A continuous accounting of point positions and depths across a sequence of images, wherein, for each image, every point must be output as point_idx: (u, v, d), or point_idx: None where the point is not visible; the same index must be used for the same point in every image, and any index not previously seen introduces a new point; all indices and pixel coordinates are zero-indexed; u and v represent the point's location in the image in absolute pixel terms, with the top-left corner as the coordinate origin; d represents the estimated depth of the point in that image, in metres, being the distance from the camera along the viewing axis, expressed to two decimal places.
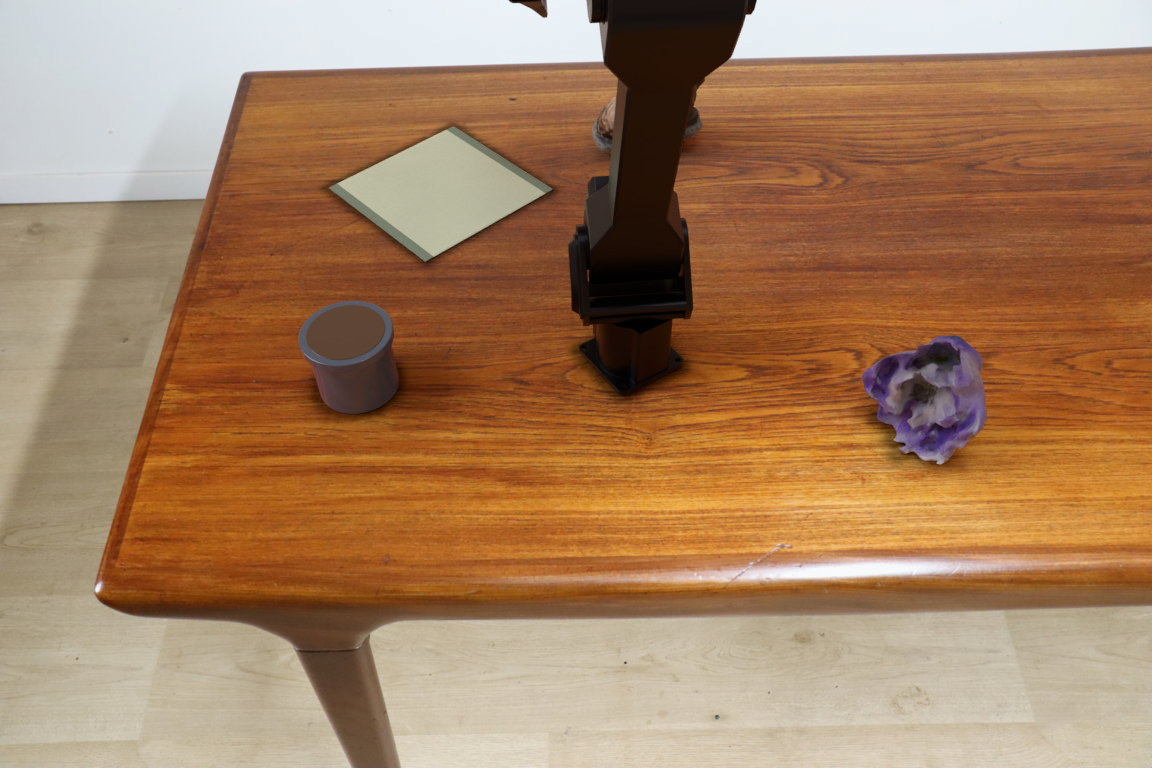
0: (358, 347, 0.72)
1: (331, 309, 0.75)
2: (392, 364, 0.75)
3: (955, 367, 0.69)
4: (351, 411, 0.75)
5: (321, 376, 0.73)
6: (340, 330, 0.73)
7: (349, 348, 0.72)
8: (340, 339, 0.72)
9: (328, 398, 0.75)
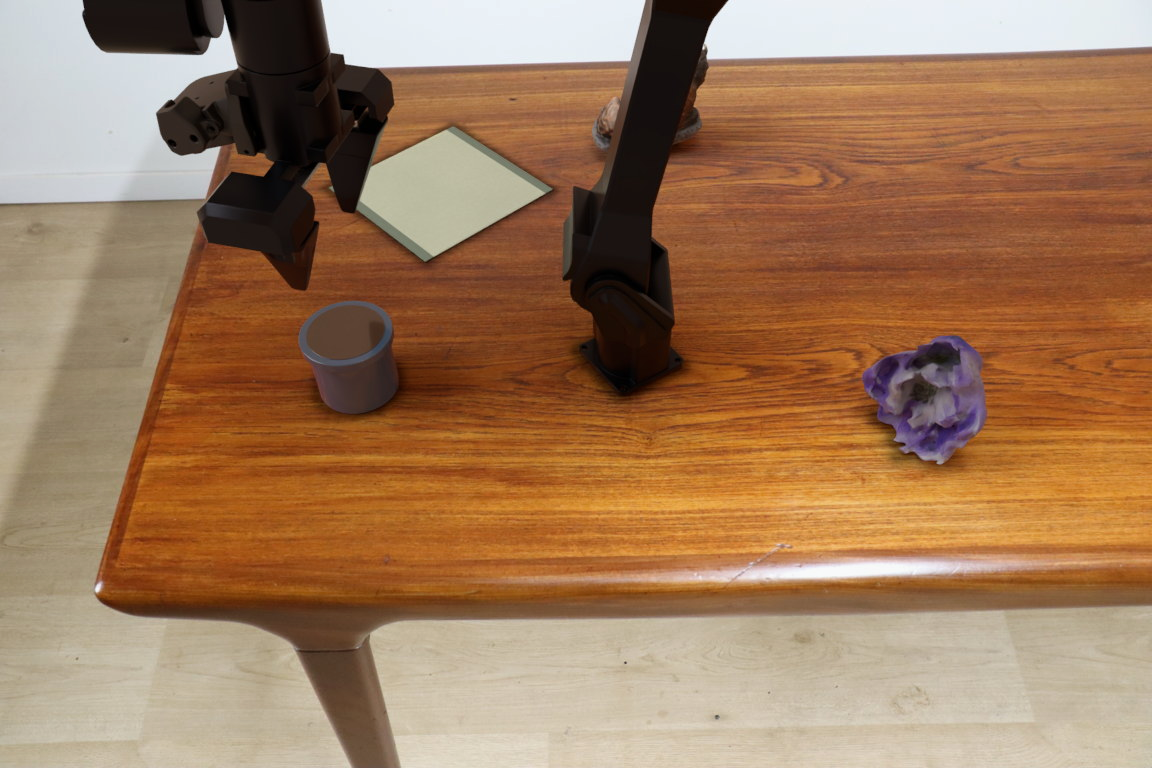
0: (358, 347, 0.72)
1: (331, 309, 0.75)
2: (392, 364, 0.75)
3: (955, 367, 0.69)
4: (351, 411, 0.75)
5: (321, 376, 0.73)
6: (340, 330, 0.73)
7: (349, 348, 0.72)
8: (340, 339, 0.72)
9: (328, 398, 0.75)
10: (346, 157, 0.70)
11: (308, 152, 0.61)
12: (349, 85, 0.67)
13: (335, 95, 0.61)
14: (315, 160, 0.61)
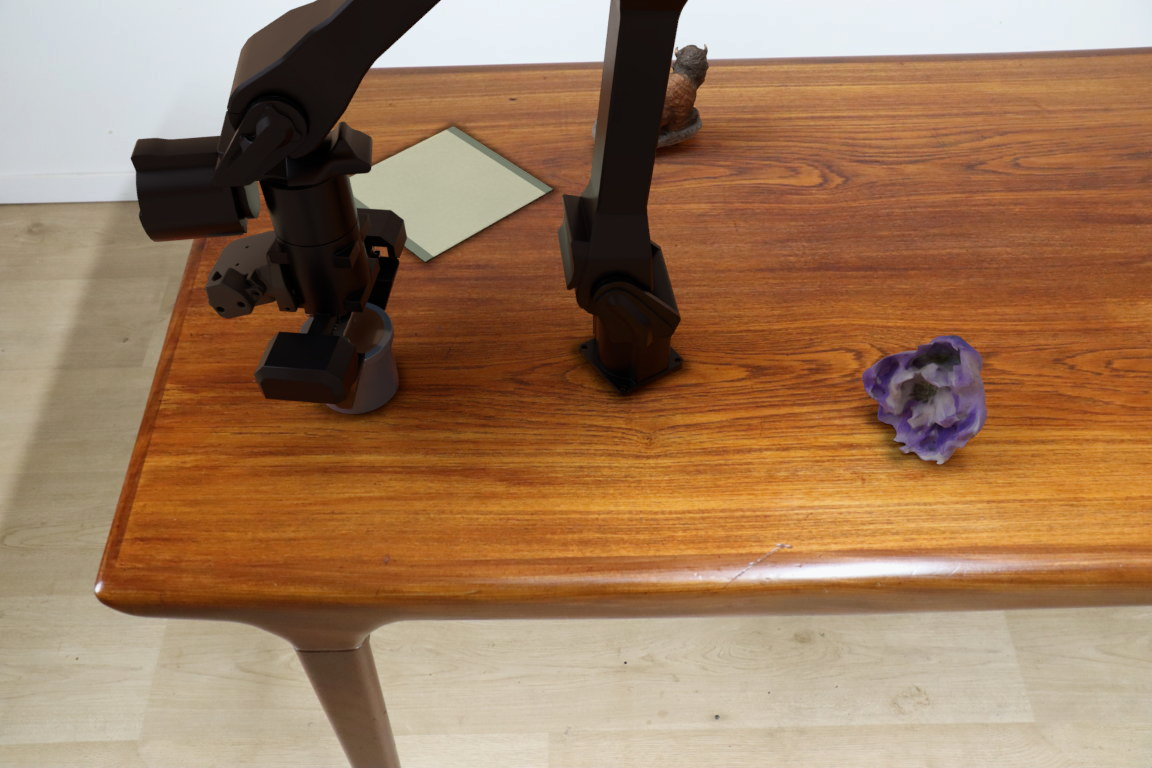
0: (357, 348, 0.72)
1: None
2: (392, 364, 0.75)
3: (955, 367, 0.69)
4: (351, 411, 0.75)
5: None
6: None
7: None
8: None
9: None
10: None
11: (345, 304, 0.67)
12: (368, 230, 0.73)
13: (364, 251, 0.67)
14: (351, 310, 0.68)
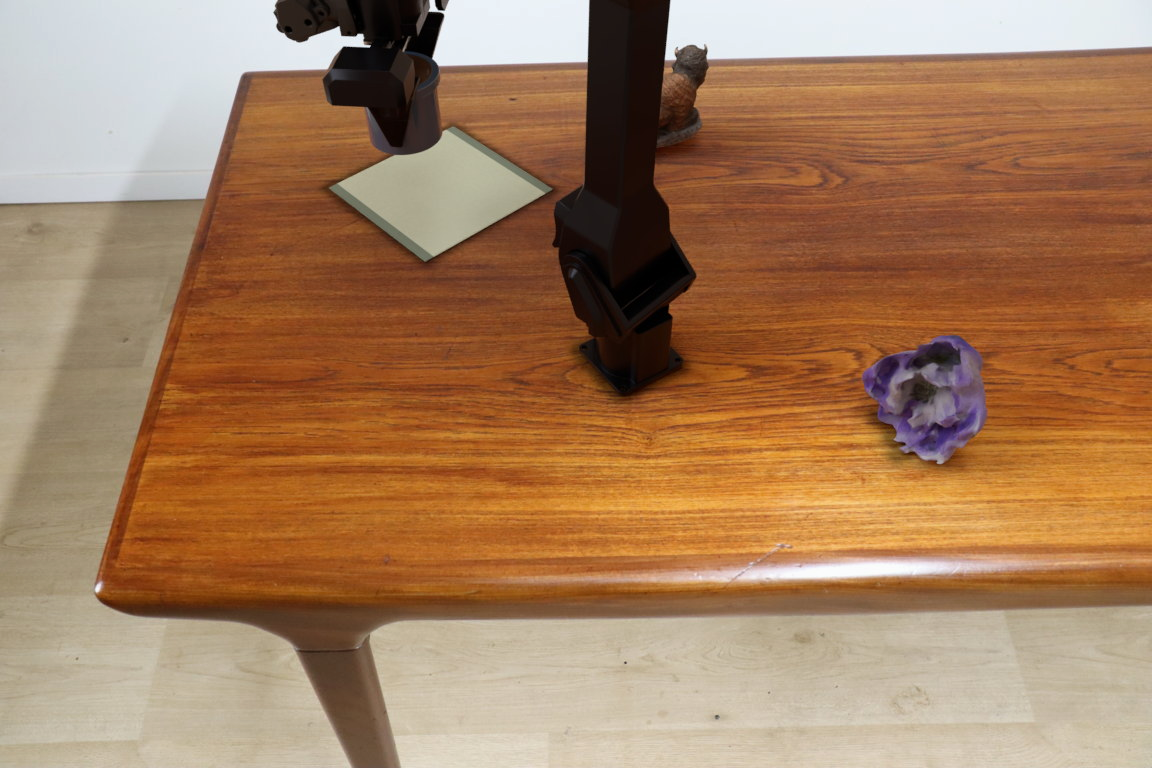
0: None
1: None
2: (438, 109, 0.81)
3: (955, 367, 0.69)
4: (400, 152, 0.81)
5: None
6: None
7: None
8: None
9: (379, 139, 0.81)
10: None
11: (402, 27, 0.74)
12: None
13: None
14: (407, 34, 0.74)
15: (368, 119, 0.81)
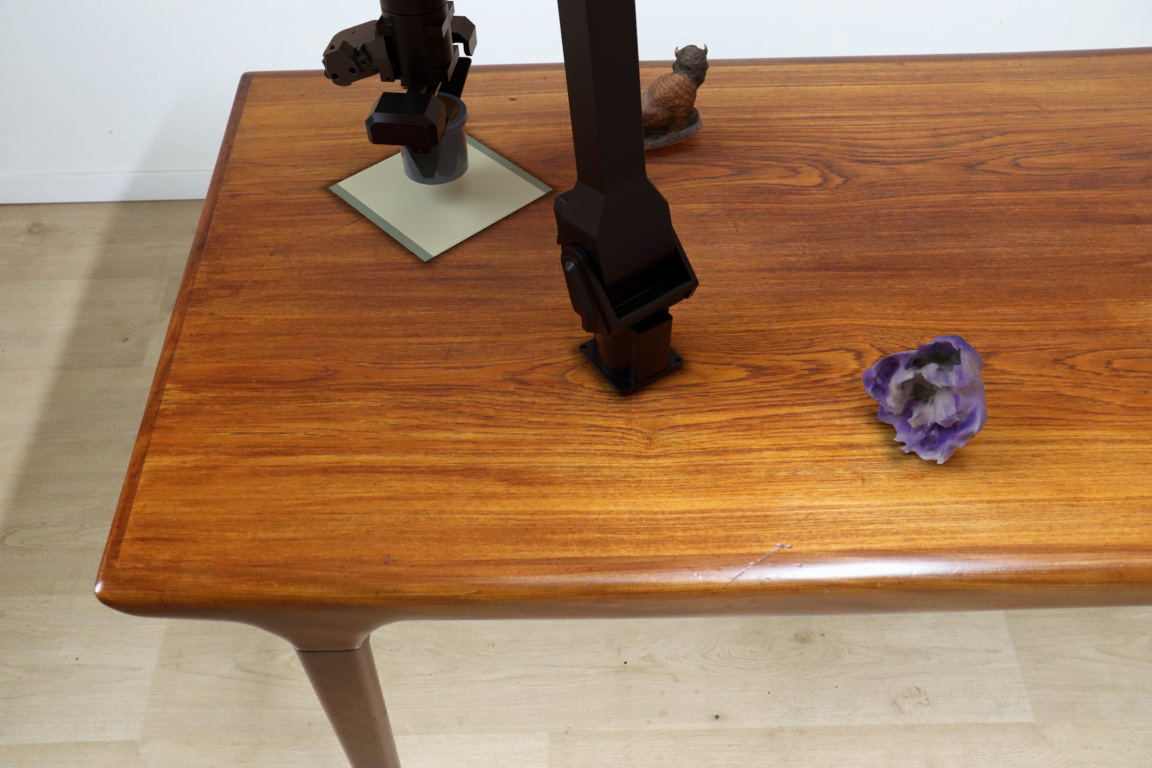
0: None
1: None
2: (465, 143, 0.91)
3: (955, 367, 0.69)
4: (431, 182, 0.91)
5: None
6: None
7: None
8: None
9: (412, 171, 0.91)
10: None
11: (435, 74, 0.83)
12: None
13: (450, 31, 0.83)
14: (439, 80, 0.84)
15: (403, 153, 0.90)
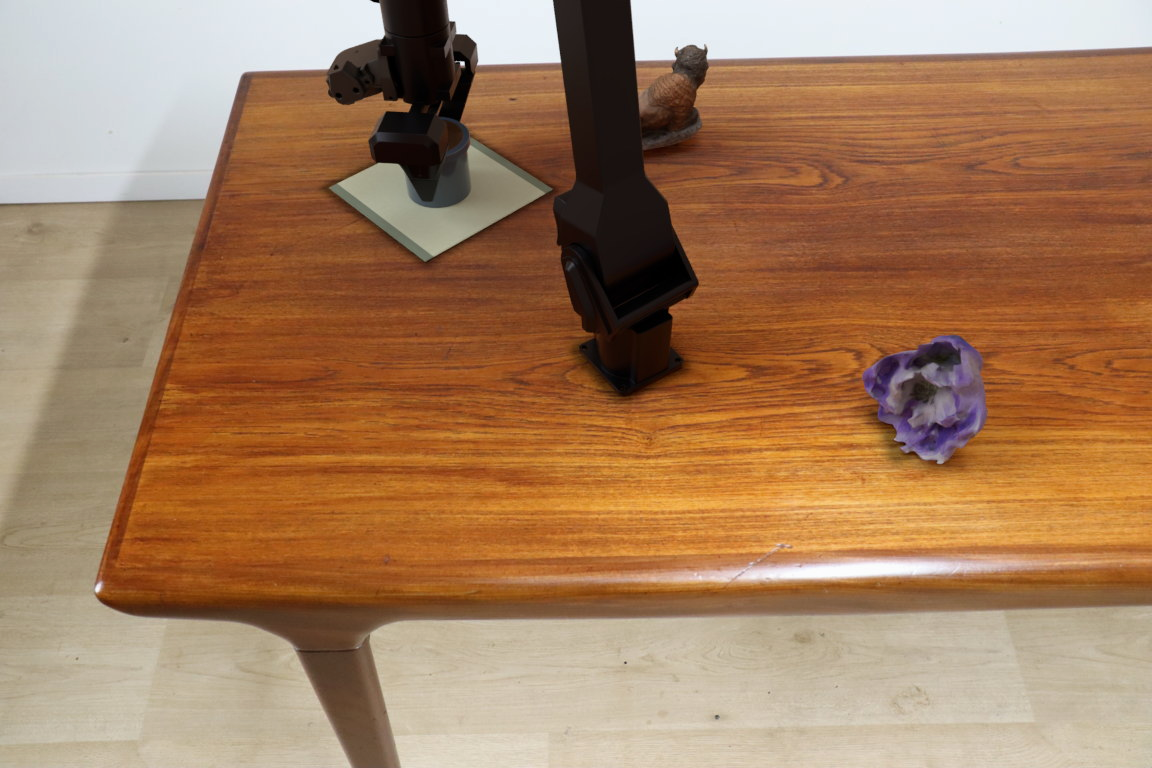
0: None
1: None
2: (468, 167, 0.93)
3: (955, 367, 0.69)
4: (434, 205, 0.93)
5: None
6: None
7: None
8: None
9: (416, 194, 0.93)
10: (447, 103, 0.94)
11: (437, 93, 0.85)
12: None
13: (452, 51, 0.84)
14: (441, 99, 0.85)
15: (407, 177, 0.92)
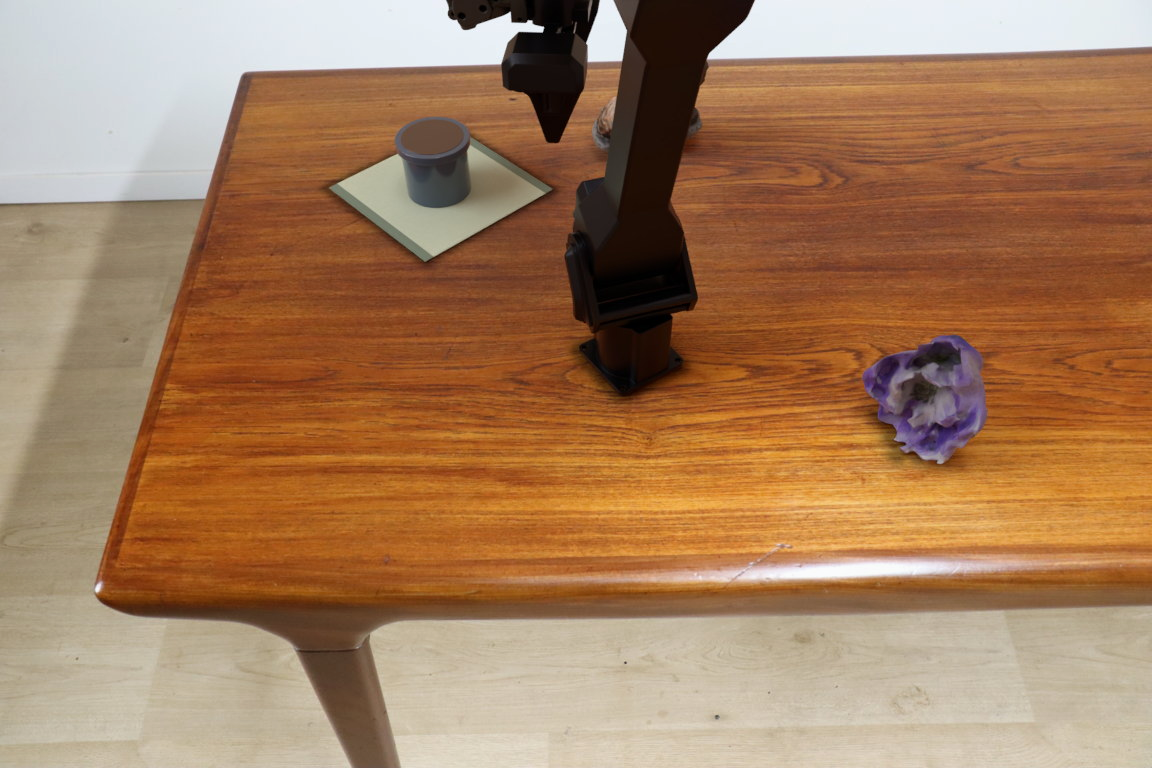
0: (443, 147, 0.90)
1: (419, 122, 0.92)
2: (468, 167, 0.93)
3: (955, 367, 0.69)
4: (434, 205, 0.93)
5: (412, 172, 0.91)
6: (428, 135, 0.91)
7: (436, 147, 0.89)
8: (428, 141, 0.90)
9: (416, 194, 0.93)
10: None
11: (573, 13, 0.74)
12: None
13: None
14: (577, 20, 0.74)
15: (407, 177, 0.92)
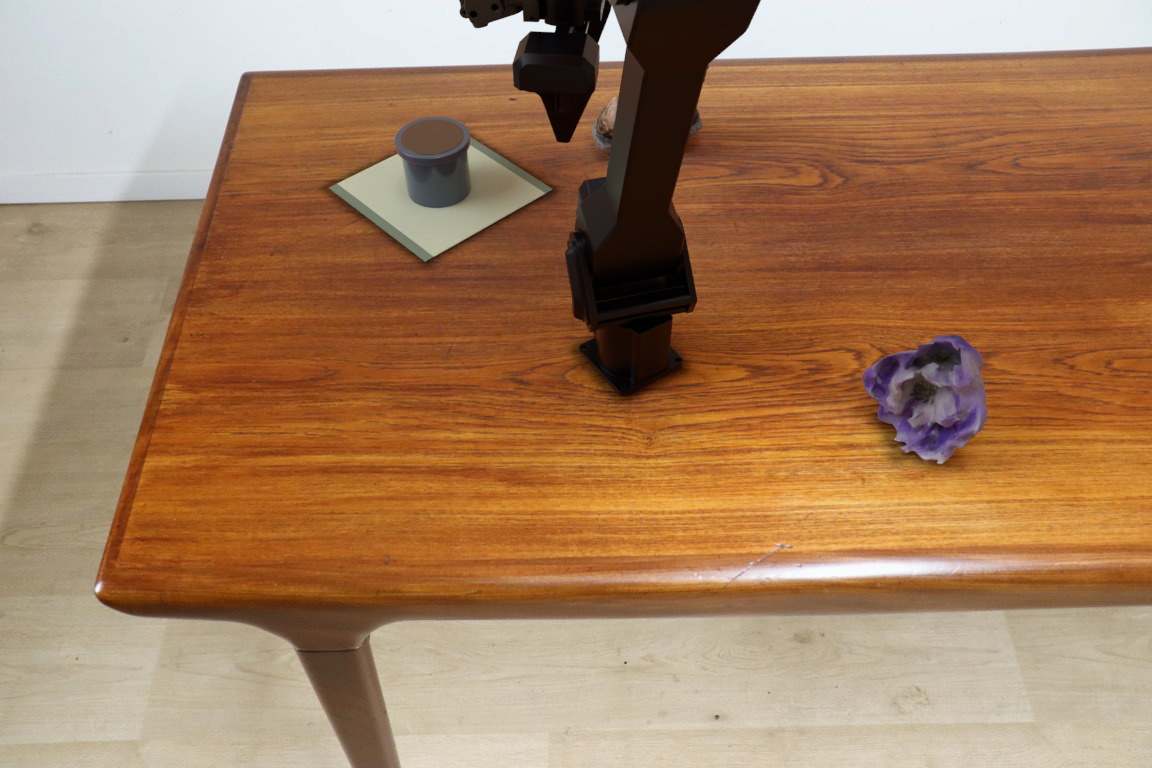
0: (443, 147, 0.90)
1: (419, 122, 0.92)
2: (468, 167, 0.93)
3: (955, 366, 0.69)
4: (434, 205, 0.93)
5: (412, 172, 0.91)
6: (428, 135, 0.91)
7: (436, 147, 0.89)
8: (428, 141, 0.90)
9: (416, 194, 0.93)
10: None
11: (585, 13, 0.73)
12: None
13: None
14: (590, 20, 0.74)
15: (407, 177, 0.92)
